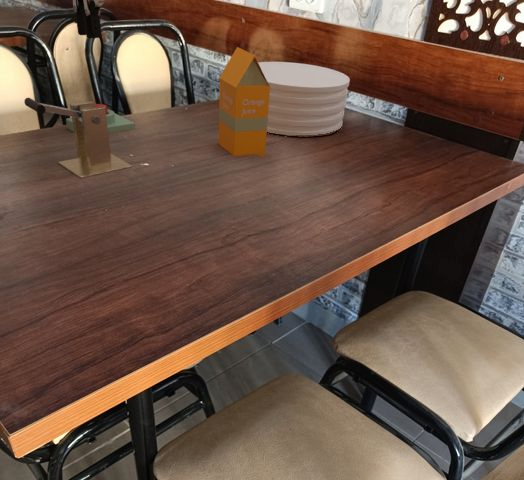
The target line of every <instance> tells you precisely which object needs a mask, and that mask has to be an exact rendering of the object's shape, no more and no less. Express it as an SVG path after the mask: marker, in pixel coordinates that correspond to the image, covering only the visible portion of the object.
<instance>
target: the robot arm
mask: <svg viewBox="0 0 524 480" xmlns="http://www.w3.org/2000/svg"><path fill="white" fill-rule="evenodd" d="M71 1H72V5H73V11H74V12H75V21H76V28H77V34H78V35H79V36H86V38H87V39H101V38H102V36H103V35H102V26H101V8H102V6H103V4H105V0H71Z"/></svg>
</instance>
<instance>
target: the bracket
mask: <svg viewBox="0 0 524 480" xmlns="http://www.w3.org/2000/svg"><path fill="white" fill-rule="evenodd" d="M95 104H96V103H95V101H92V100H90V101H81V102H74V103H69V109H72V110H77V111H79V109H80V107H85V108H88V109H81V117H82V122H81V121H79V120H78V117H73V116H71V118H72V121H73V128H74V132H73V133H74V140H75V146H76V152H77V153H76V154H77V158H72V159H66V160H61V161H58V162H57V164H58V165H60V166H61V167H62V168H64V169H66V170H67V171H68V172H70V173H71V174H73V175H75V176H76V177H77V178H79V179H86V178H89V177H94V176H100V175H104V174H108V173H112V172H117V171H122V170H127V169H132V168H133V165H132V164H130V163H128V162H127V161H125V160H123V159H121V158H119V157H118V156H116V155H114V154H112V153H111V146H110V137H109V133H108V128H107V119H106V110H105V107H95Z"/></svg>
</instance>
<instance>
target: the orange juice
mask: <svg viewBox="0 0 524 480" xmlns="http://www.w3.org/2000/svg"><path fill="white" fill-rule="evenodd" d="M258 62H259V61H258V59H257V57H256V55H255V54H253V53H251V52H249V51H247V50H245V49H243V48H241V47H238V46H236V48H235V50H234V52H233V54H231V57H230V59H229V60H228V62H227V64H226V65H225V67H224V69H223V70H222V72H221V74H220V76H219V97H218V98H219V100H218V101H219V102H218V103H219V104H218V105H219V106H218V144H219V145H220V146H221V147H222V148H224V149H225V150H226V151H227V152H228V153H229V154H231V155H232V157H243V156H252V155H253V156H254V155H256V156H260V157H262V156H265V157H266V144H267V134H268V133H267V123H268V107H269V93H270V85H269V84H268V82H267V80H266V78H265V76H264V74H263V72H262V70H261V68H260V66H259V64H258Z"/></svg>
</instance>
